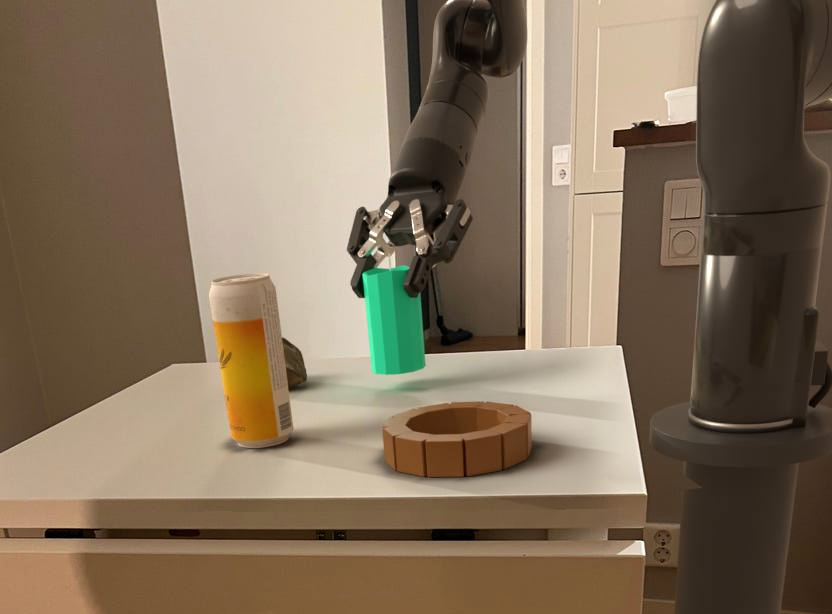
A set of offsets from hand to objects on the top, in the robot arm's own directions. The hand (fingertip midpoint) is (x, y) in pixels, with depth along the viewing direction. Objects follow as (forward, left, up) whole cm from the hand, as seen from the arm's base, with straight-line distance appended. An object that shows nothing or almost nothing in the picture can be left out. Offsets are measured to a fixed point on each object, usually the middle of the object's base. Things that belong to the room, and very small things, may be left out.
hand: (383, 293), depth 101 cm
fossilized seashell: (+16, -5, -11) cm, 19 cm away
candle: (-1, -2, -8) cm, 9 cm away
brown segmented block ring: (-11, +24, -10) cm, 29 cm away
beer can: (+9, +18, -11) cm, 23 cm away
